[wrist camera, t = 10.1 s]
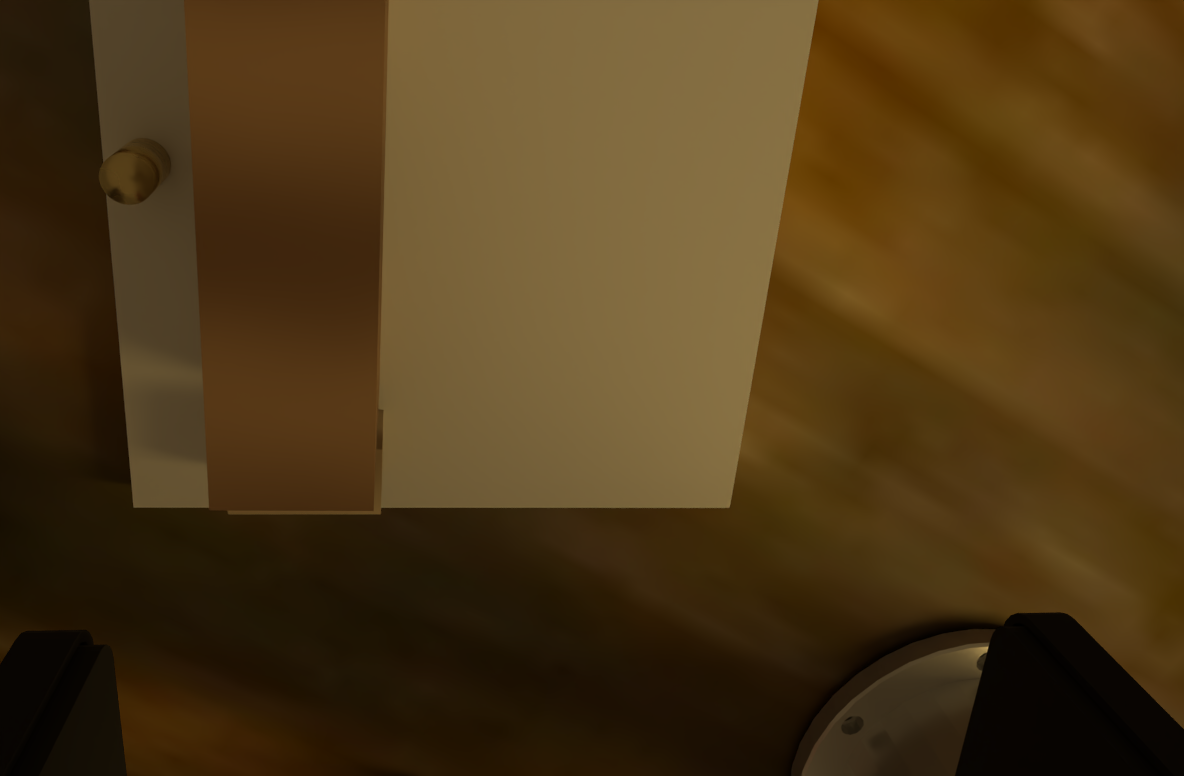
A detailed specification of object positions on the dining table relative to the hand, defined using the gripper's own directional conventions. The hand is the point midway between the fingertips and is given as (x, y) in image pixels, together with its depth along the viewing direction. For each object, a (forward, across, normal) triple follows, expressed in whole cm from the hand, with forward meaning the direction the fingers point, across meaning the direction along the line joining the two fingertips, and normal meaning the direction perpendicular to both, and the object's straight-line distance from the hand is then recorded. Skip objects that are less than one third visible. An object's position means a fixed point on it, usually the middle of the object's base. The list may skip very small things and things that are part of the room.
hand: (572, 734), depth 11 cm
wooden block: (+19, +4, -2) cm, 19 cm away
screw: (+19, +9, -2) cm, 21 cm away
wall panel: (+20, +1, -2) cm, 20 cm away
